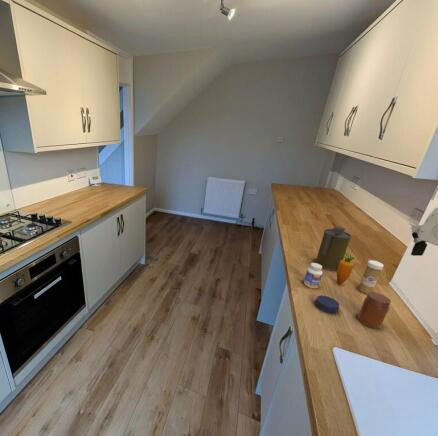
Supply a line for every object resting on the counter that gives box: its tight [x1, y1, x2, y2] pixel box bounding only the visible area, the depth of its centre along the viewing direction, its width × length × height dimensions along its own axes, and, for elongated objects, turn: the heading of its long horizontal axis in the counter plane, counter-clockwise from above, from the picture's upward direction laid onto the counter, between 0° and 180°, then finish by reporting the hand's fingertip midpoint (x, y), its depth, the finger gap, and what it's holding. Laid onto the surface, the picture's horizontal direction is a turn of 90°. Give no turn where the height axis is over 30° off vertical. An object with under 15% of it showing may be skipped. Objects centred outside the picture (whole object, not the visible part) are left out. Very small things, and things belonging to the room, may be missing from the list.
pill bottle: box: [303, 262, 323, 289], centre depth 100 cm, size 5×5×10 cm
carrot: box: [336, 251, 356, 285], centre depth 100 cm, size 5×5×15 cm
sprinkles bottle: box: [357, 259, 384, 294], centre depth 96 cm, size 5×5×13 cm
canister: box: [314, 226, 353, 272], centre depth 114 cm, size 11×10×20 cm
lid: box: [314, 294, 340, 315], centre depth 89 cm, size 7×7×3 cm
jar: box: [357, 291, 392, 330], centre depth 81 cm, size 6×6×10 cm
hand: (434, 263), depth 69 cm, fingers open, 9 cm apart
